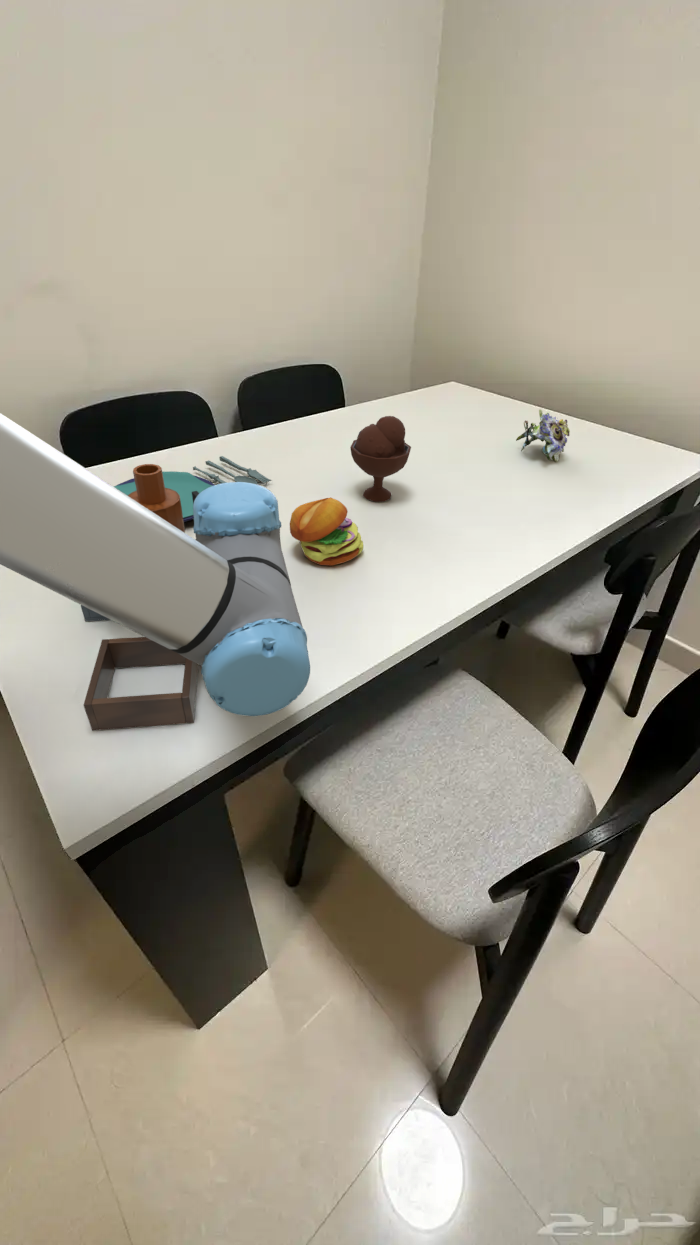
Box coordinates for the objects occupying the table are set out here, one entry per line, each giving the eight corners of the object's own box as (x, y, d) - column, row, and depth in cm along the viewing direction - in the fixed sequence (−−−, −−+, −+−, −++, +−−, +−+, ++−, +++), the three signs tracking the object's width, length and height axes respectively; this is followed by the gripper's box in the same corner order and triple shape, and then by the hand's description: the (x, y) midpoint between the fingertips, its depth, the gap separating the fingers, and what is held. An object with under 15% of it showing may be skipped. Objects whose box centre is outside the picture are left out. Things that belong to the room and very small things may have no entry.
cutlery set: (82, 505, 102) (79, 493, 100) (219, 459, 120) (217, 448, 118) (147, 547, 92) (144, 534, 90) (285, 490, 110) (285, 479, 108)
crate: (92, 731, 62) (83, 704, 60) (109, 664, 70) (101, 639, 68) (193, 722, 64) (189, 697, 61) (198, 658, 72) (195, 633, 69)
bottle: (139, 596, 80) (114, 481, 70) (145, 569, 86) (123, 459, 75) (190, 593, 81) (172, 480, 71) (193, 567, 87) (177, 458, 76)
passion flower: (547, 483, 131) (560, 453, 120) (503, 464, 133) (512, 433, 122) (568, 444, 133) (583, 411, 122) (524, 426, 136) (535, 392, 124)
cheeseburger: (366, 570, 89) (353, 513, 83) (298, 582, 90) (281, 527, 84) (363, 536, 97) (352, 482, 91) (301, 547, 98) (286, 494, 92)
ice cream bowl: (387, 479, 116) (394, 403, 107) (416, 503, 108) (426, 423, 99) (339, 487, 112) (342, 408, 103) (365, 512, 104) (370, 430, 95)
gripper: (103, 648, 63) (58, 557, 76) (304, 583, 74) (234, 514, 88) (87, 591, 58) (42, 505, 72) (304, 531, 69) (230, 467, 83)
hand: (147, 510), depth 80 cm, fingers open, 13 cm apart
